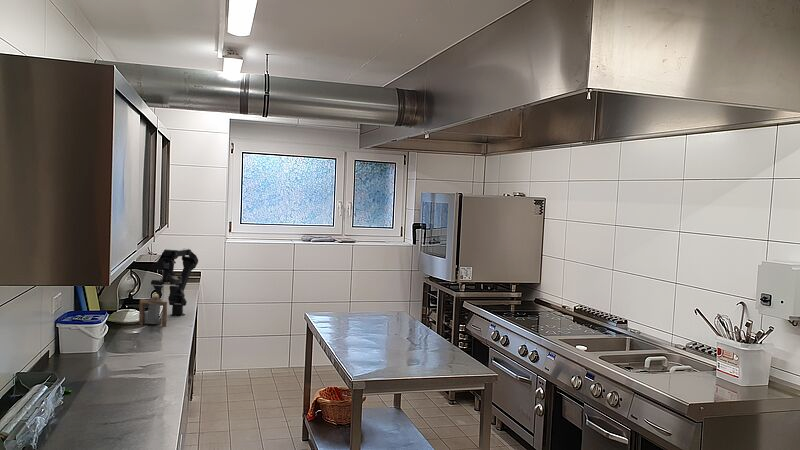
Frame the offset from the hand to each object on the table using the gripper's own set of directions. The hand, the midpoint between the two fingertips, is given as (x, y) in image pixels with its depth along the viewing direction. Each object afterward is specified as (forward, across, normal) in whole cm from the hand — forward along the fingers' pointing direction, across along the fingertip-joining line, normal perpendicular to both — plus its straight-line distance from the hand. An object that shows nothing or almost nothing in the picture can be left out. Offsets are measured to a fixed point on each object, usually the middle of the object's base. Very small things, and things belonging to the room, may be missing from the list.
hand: (165, 297), depth 349 cm
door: (+13, -6, +3) cm, 15 cm away
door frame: (+15, -12, -6) cm, 20 cm away
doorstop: (+14, -11, -4) cm, 18 cm away
